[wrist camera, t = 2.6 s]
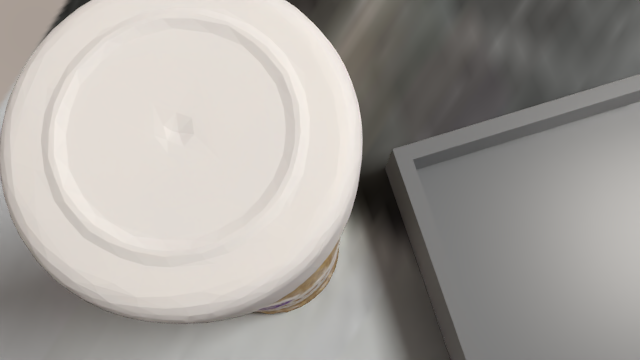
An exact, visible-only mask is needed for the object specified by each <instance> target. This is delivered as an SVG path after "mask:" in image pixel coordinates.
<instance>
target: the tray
mask: <svg viewBox="0 0 640 360" xmlns="http://www.w3.org/2000/svg"><path fill="white" fill-rule="evenodd" d="M385 170H386V173H387V176H388V179H389V182H390V184H391V187H392V190H393V193H394V196H395V199H396V202H397V205H398V208H399V211H400V214H401V216H402V219H403V222H404V225H405V228H406V231H407V234H408V237H409V240H410V243H411V246H412V248H413V251H414V254H415V257H416V260H417V263H418V266H419V269H420V272H421V275H422V278H423V280H424V283H425V286H426V289H427V292H428V295H429V298H430V301H431V304H432V307H433V309H434V312H435V315H436V318H437V321H438V324H439V327H440V330H441V333H442V336H443V339H444V341H445V344H446V347H447V350H448V353H449V356H450V359H451V360H640V74H638V75H635V76H632V77H629V78H625V79H622V80H619V81H615V82H612V83H609V84H606V85H602V86H599V87H596V88H592V89H589V90H586V91H583V92H579V93H576V94H573V95H569V96H566V97H563V98H560V99H556V100H553V101H550V102H546V103H543V104H540V105H537V106H533V107H530V108H527V109H523V110H520V111H517V112H514V113H510V114H507V115H504V116H500V117H497V118H494V119H491V120H487V121H484V122H481V123H477V124H474V125H471V126H468V127H464V128H461V129H458V130H454V131H451V132H448V133H445V134H441V135H438V136H435V137H431V138H428V139H425V140H422V141H418V142H415V143H412V144H408V145H405V146H402V147H399V148H395V149H392V152H391V154H390V157H389V159H388V162H387V164H386V167H385Z"/></svg>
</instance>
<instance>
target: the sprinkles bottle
mask: <svg viewBox="0 0 640 360" xmlns="http://www.w3.org/2000/svg"><path fill="white" fill-rule="evenodd" d="M361 161H362V123H361V116H360V110H359V104H358V100H357V97H356V94H355V91H354V88H353V85H352V81H351V79H350V77H349V74H348V72H347V70H346V67H345V65H344V63H343V62H342V60H341V58H340V56H339V54H338V53H337V52H336V50H335V49H334V47H333V46H332V44H331V43H330V42H329V41H328V39H327V38H326V37H325V36H324V35H323V33H322V32H321V31H320V30H319V29H318V28H317V27H316V26H315V24H314V23H313V22H311V21H310V20H309V19H308V18H307V17H306V16H305V15H304V14H303V13H302V12H300V11H299V10H298V9H297V8H296V7H294V6H293V5H291V4H290V3H288V2H287V1H285V0H91V1H90V2H88V3H86V4H85V5H83V6H81V7H80V8H78V9H77V10H76V11H74V12H73V13H72V14H70V15H69V16H68V17H67V18H66V19H65V20H63V21H62V22H61V23H60V24H59V25H58V26H56V27H55V28H54V29H53V30H52V31H51V32H50V33H49V34H48V36H47V37H46V38H45V39H44V40H43V41H42V42H41V44H40V45H39V46H38V47H37V49H36V50H35V51H34V53H33V54H32V56H31V57H30V59H29V60H28V62H27V63H26V65H25V67H24V68H23V70H22V72H21V73H20V75H19V77H18V79H17V82H16V84H15V86H14V88H13V91H12V93H11V95H10V97H9V100H8V104H7V107H6V111H5V116H4V121H3V125H2V130H1V136H0V175H1V181H2V187H3V192H4V197H5V200H6V203H7V206H8V209H9V212H10V216H11V218H12V220H13V223H14V225H15V227H16V229H17V231H18V233H19V235H20V237H21V239H22V240H23V242H24V243H25V245H26V246H27V247H28V249H29V250H30V252H31V253H32V255H33V256H34V257H35V259H36V260H37V261H38V262H39V264H40V265H41V266H42V267H43V268H44V269H45V270H46V271H47V272H48V273H49V274H50V275H51V276H52V278H53V279H55V280H56V281H57V282H58V283H60V284H61V285H62V286H63V287H65V288H66V289H68V290H69V291H70V292H72V293H74V294H75V295H77V296H78V297H80V298H82V299H83V300H85V301H87V302H89V303H91V304H93V305H95V306H97V307H99V308H101V309H103V310H105V311H108V312H111V313H114V314H117V315H121V316H124V317H127V318H132V319H137V320H142V321H148V322H158V323H174V324H188V323H208V322H214V321H220V320H225V319H230V318H235V317H239V316H243V315H246V314H249V313H252V312H255V311H256V312H262V313H266V314H274V313H280V312H288V311H291V310H294V309H297V308H299V307H301V306H303V305H305V304H306V303H308V302H309V301H311V300H312V299H313V298H315V297H316V296H317V295H318V294H319V293H320V292H321V291H322V290H323V289H324V288H325V287H326V285H327V284H328V282H329V281H330V279H331V276H332V274H333V272H334V270H335V268H336V263H337V259H338V253H339V243H340V238H341V235H342V233H343V231H344V228H345V226H346V224H347V221H348V219H349V217H350V214H351V211H352V208H353V204H354V200H355V197H356V193H357V188H358V182H359V176H360V169H361Z"/></svg>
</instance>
